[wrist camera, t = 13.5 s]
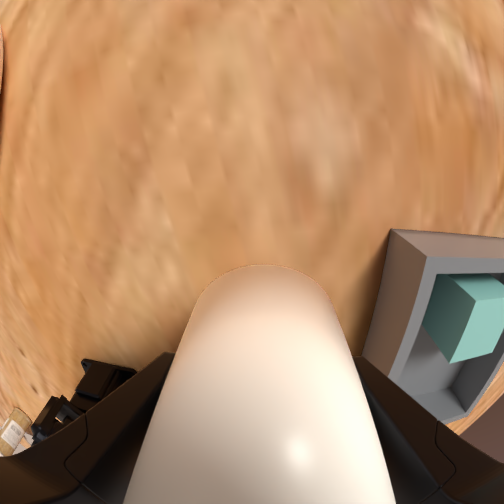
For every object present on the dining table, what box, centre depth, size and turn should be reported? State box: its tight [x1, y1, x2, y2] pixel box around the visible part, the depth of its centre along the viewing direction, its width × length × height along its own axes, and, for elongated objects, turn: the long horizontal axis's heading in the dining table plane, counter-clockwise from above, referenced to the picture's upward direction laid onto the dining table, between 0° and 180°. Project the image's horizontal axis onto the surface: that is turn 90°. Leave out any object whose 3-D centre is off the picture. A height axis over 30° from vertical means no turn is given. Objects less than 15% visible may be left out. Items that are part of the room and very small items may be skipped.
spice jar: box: [0, 408, 31, 456], centre depth 26 cm, size 5×5×13 cm
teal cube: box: [422, 273, 504, 364], centre depth 16 cm, size 5×5×5 cm
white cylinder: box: [123, 264, 396, 504], centre depth 6 cm, size 5×5×7 cm
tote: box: [361, 229, 504, 425], centre depth 18 cm, size 18×14×5 cm
